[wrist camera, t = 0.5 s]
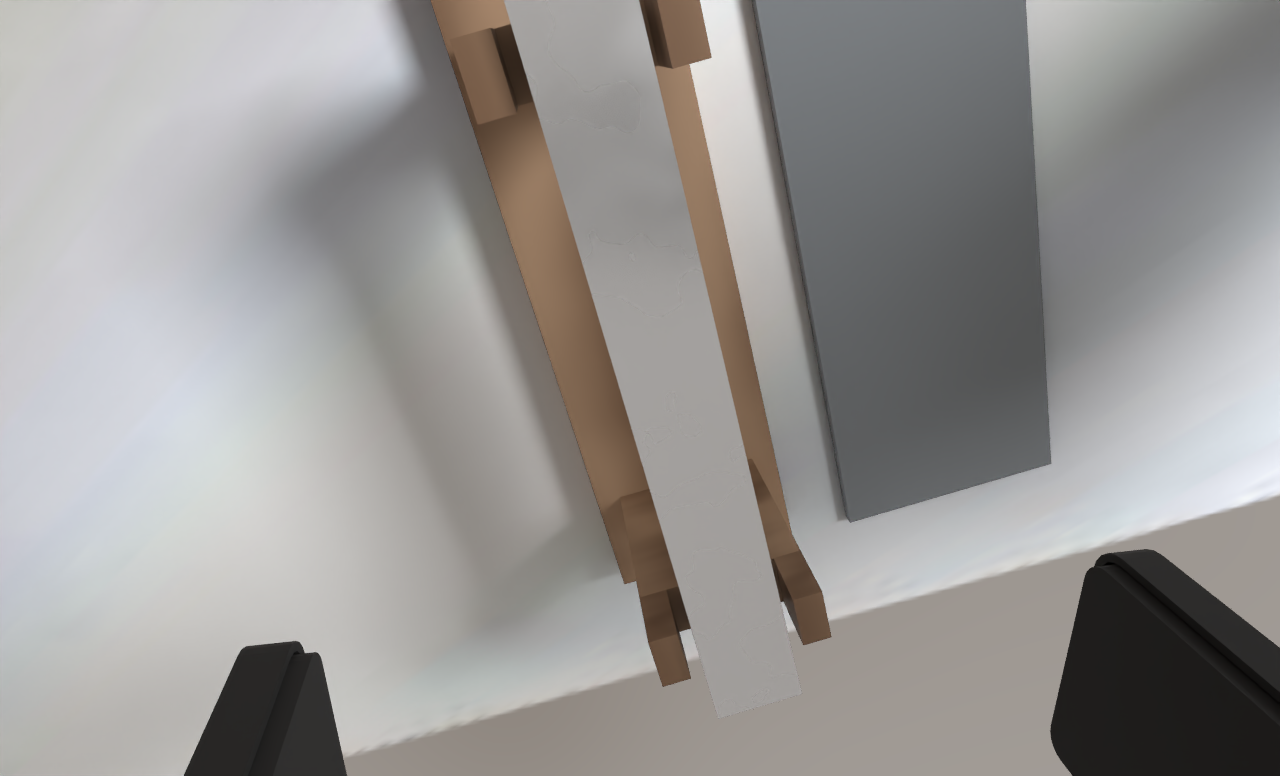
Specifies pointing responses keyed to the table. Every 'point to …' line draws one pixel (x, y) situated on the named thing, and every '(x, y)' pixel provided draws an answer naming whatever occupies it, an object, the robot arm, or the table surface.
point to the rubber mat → (915, 236)
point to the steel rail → (659, 330)
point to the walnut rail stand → (570, 318)
